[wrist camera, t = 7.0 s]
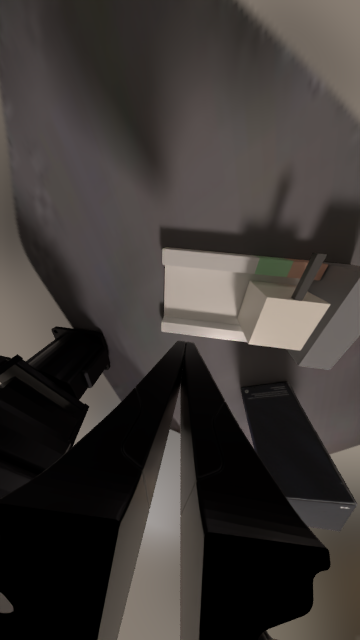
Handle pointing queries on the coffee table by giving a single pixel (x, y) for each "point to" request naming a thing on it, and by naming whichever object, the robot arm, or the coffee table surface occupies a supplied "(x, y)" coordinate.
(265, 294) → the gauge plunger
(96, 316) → the coffee table surface
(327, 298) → the base
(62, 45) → the coffee table surface
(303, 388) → the coffee table surface
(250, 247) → the coffee table surface
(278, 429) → the small box
